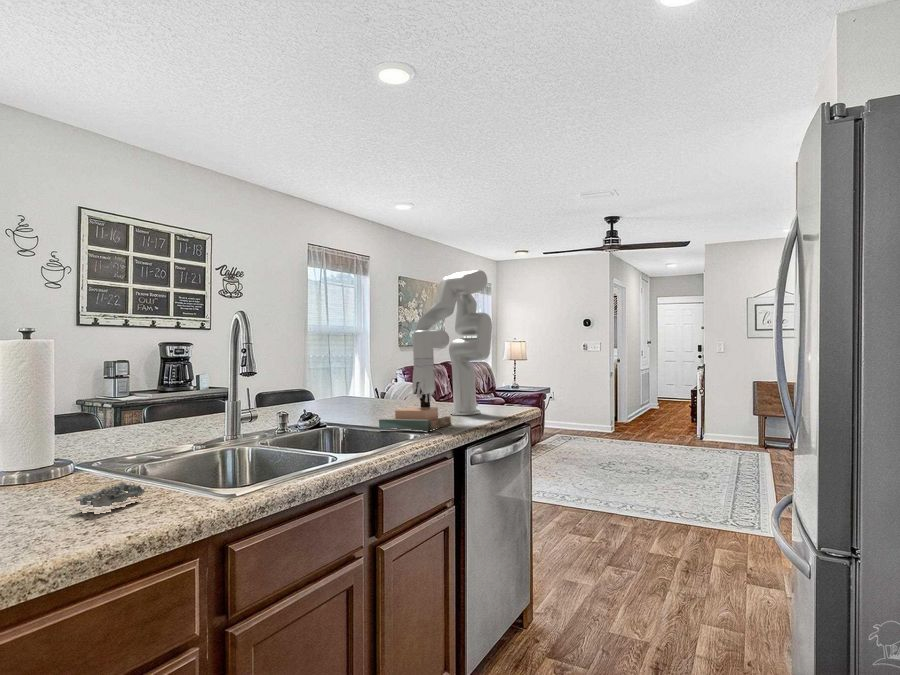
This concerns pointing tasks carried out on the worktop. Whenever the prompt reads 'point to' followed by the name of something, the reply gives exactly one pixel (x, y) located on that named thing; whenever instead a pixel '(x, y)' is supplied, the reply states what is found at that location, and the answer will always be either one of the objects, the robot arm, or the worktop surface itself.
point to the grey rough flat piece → (111, 495)
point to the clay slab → (417, 413)
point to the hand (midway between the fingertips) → (425, 412)
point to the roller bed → (415, 423)
